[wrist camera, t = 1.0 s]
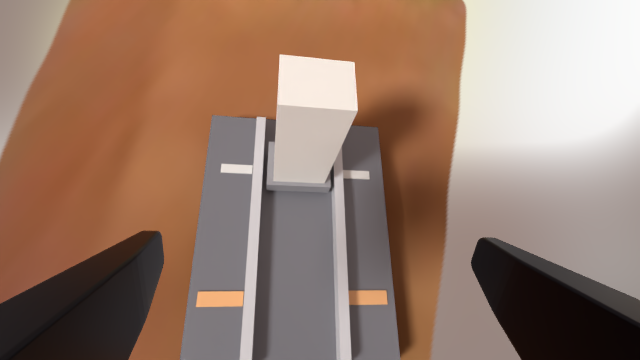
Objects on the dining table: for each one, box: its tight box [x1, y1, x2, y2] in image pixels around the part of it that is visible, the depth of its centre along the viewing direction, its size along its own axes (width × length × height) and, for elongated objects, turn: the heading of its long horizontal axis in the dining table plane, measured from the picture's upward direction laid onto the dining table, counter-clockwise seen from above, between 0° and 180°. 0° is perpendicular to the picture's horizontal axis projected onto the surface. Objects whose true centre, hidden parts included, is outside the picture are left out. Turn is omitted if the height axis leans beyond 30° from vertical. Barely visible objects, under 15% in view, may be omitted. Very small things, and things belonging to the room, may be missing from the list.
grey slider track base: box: [180, 115, 400, 360], centre depth 21 cm, size 16×12×3 cm
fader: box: [267, 55, 358, 193], centre depth 17 cm, size 3×4×9 cm
